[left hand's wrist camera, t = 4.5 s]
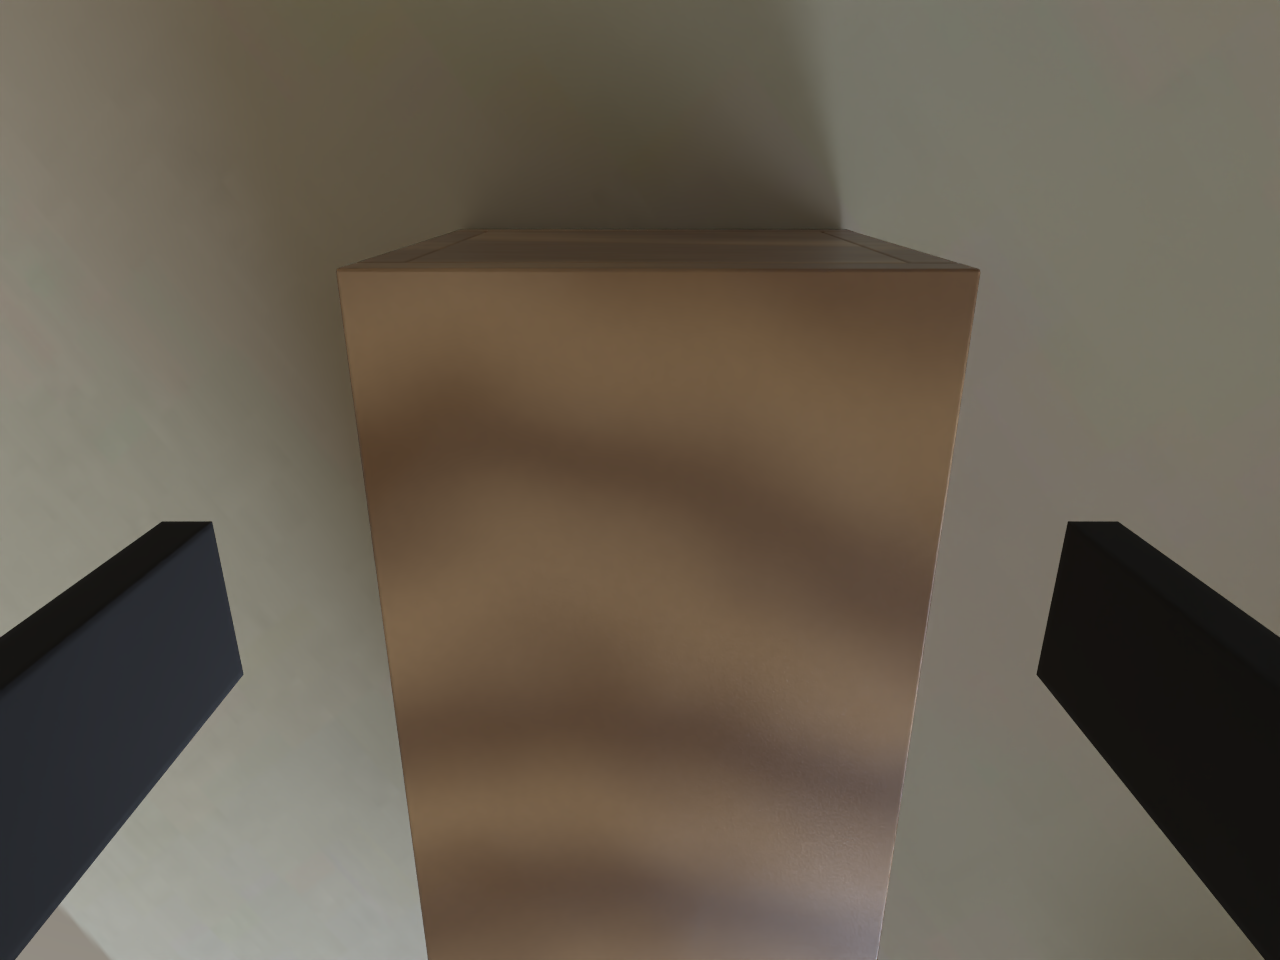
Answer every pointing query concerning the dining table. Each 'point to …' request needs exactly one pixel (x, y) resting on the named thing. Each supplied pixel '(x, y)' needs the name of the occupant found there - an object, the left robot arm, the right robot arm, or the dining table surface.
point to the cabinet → (655, 576)
